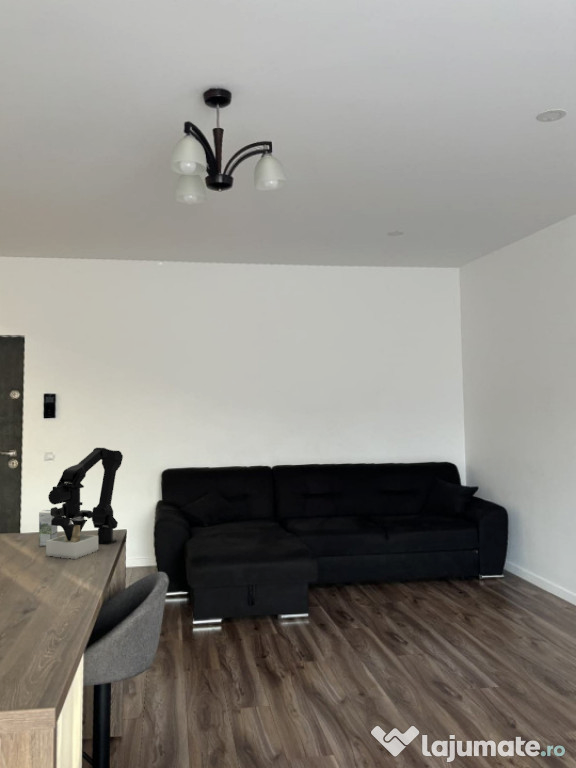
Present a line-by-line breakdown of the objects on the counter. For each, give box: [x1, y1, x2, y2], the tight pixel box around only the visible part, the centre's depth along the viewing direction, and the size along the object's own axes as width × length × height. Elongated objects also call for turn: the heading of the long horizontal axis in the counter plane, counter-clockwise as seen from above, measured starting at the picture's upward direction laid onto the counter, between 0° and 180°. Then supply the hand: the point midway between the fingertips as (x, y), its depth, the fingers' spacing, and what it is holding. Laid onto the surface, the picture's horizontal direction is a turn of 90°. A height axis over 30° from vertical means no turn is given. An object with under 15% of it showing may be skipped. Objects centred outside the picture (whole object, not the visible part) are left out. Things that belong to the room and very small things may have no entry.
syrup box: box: [38, 509, 59, 547], centre depth 266 cm, size 6×6×14 cm
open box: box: [45, 533, 99, 560], centre depth 252 cm, size 14×14×6 cm
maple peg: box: [64, 525, 81, 543], centre depth 252 cm, size 4×4×8 cm
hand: (72, 539), depth 252 cm, fingers closed on maple peg, 4 cm apart
